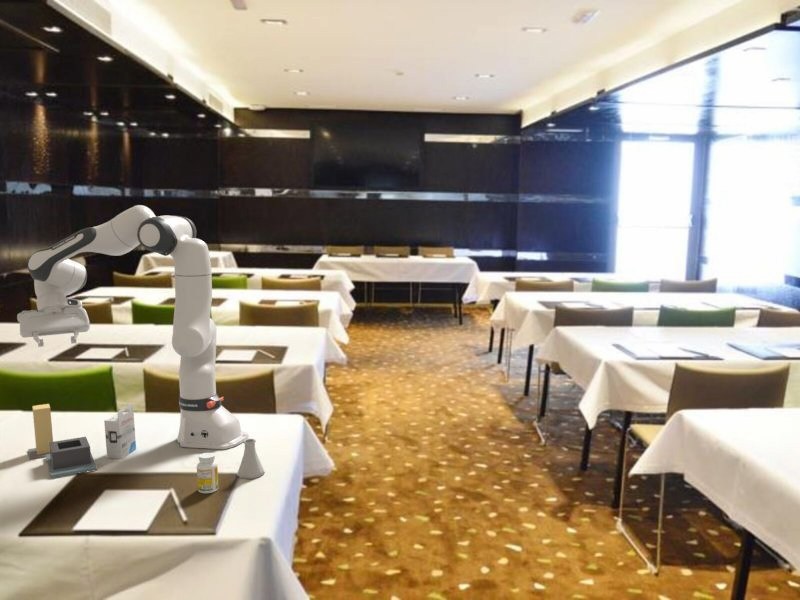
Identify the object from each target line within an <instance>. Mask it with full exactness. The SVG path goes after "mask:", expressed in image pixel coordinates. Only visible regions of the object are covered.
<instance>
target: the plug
mask: <svg viewBox="0 0 800 600" xmlns="http://www.w3.org/2000/svg"><path fill="white" fill-rule="evenodd" d="M51 411H52V410H51V406H50V403H43V404H37V405H32V419H33V428H34V429H33V430H34V439H35V441H34V442H35V448H36V451H37V455H39V454H45V453H50V446H49V442H54V439H53V436H54V435H53V425H52V412H51Z"/></svg>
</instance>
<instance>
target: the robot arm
mask: <svg viewBox="0 0 800 600" xmlns="http://www.w3.org/2000/svg"><path fill="white" fill-rule="evenodd" d="M138 246H142V247H143V248H144V250H145V249H146V250H148V251H150V252H152V253H155V254H159V255H161V256H163V257H164V256H165V257H167V256H169V255H170V256H171V257H172V259H173V262H174V263H173V265H174V294H175V295H174V296H175V298H174V299H175V302H174V309H173V310H174V313H173V324H172V336H171V345H172V348H173V350H174V351H175V353H176V354H178V355H179V356H180V361H179V362H180V364H179V370H178V380H179V382H178V383H179V396H178V405H179V406H178V407H179V410H180V420H179V429H178V433H177V434H178V435H177V442H178V443H179V446H180V447H181V448H195V449H213V450H227V449H230V448H234V447H236V446H239V445H240V444H242V443H244V442H243V441H244V440H246V439H249V433H248V432H245V431H242V429H241V424H240V421H239V418H238V417H237V416H235V415H234V414H232V413H231V412H230V411H229V410H228V409H226V408H225V407H224V405H222V401H224V400H225V399H224V398H225V397H224V396H222V397H220V396H219V394H218V393H217V385H216V382H217V381H216V360H217V359H216V356H217V326H216V323H215V321H214V319H212V318H211V311H212V310H211V309H212V302H213V285H212V283H213V281H212V279H213V278H212V274H213V273H212V263H211V255H210V250H209V247H208V244H207V243H206V242H205V241H203V240H202V239H200V238H197V228H196V225H195V223H194V222H193V220H191V219H189V218H188V217H186V216H182V215H160V216H159V215H158V216H156V215H155V213H154V211H153V210H152V209H151V208H149V207H148V206H146V205H143V204H142V205H141V204H137V205H133V206H132V207H130V208H128V209H125V210H124V211H122V212H120V213H119V214H117V215H115V216H114V217H113V218H111V219H110V220H108V221H107V222H104V223H102V224H99V225H97V226H93V227H86V228H82V229H80V230H78V231H76V232H74V233H72V234H71V235H69V236H67V237H64V238H62V239H61V240H59V241H58V242H56V243H54V244H53V245H51V246H48V247H44V248H41V249H38V250H36V251H35V252H34V253H33V254H31V256H30V257H29V259H28V261H27V270H28V273H29V274H30V276H31V278H32V279H33V281H34V282H33V286H34V293H35V296H36V308H37V309H31V310H22V311H21V312H19V313H17V316H16V319H17V322H18V323H19V335H20V337H22V338H23V339H26V338H33V340H34V341H35V342H36V343H37V347H38V348H41V347H45V346H44V339H43V338H42V339H40V338H39V337H45V336H56V335H66V334H73V335H72V336H71V335H70V341H71V345H73V344H77V339H78V337H79V335H80V334H79V333H88V331H90V327H91V325H90V324H91V322H90V319H89V316H88V312H87V310H86V309H85V308H84V307H83V302H82V300H80V299H73V298H68V297H67V296H70V295H72V294H74V293H76V292H78V291H79V290H81V289H82V288H83V287H85V286H86V283H87V279H88V272H87V269H86V268H87V267H86V266H85V265H84V264H82V263H80V262H77V261H76V260H75V261H74V260H73V259H70V258H73V257H75V256H76V255H78V254H80V253H90V252H91V253H98V254H103V255H108V256H119V257H120V256H123V255H125V254H127V253H130V252H131V251H132V250H134V249H135V248H136V247H138Z"/></svg>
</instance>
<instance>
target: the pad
mask: <svg viewBox="0 0 800 600" xmlns="http://www.w3.org/2000/svg"><path fill="white" fill-rule="evenodd" d="M27 452H28V458H29V460H36V459H37V460H38V459H43V458H46V455H49V454H50V453H45V454H39V455H37V451H36V447H34V448H28V449H27Z"/></svg>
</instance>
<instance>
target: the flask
mask: <svg viewBox="0 0 800 600" xmlns="http://www.w3.org/2000/svg"><path fill="white" fill-rule="evenodd" d="M256 442H257V440H256V439H255V438H247V439H246V440H244V441H243V442H242V443H244V450H243V455H242V459H241V463H240V465H239V468H238V471H237V473H236V476H238V477H240V478H241V479H247V480H248V479H249V480H252V479H256V478H259V477H261V476H263V475H264V474H265V473H266V472H265V469H264V468H263V465H262V463H261V460H260V458H259V455H258V453H257V450H256V449H257V448H256Z"/></svg>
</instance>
